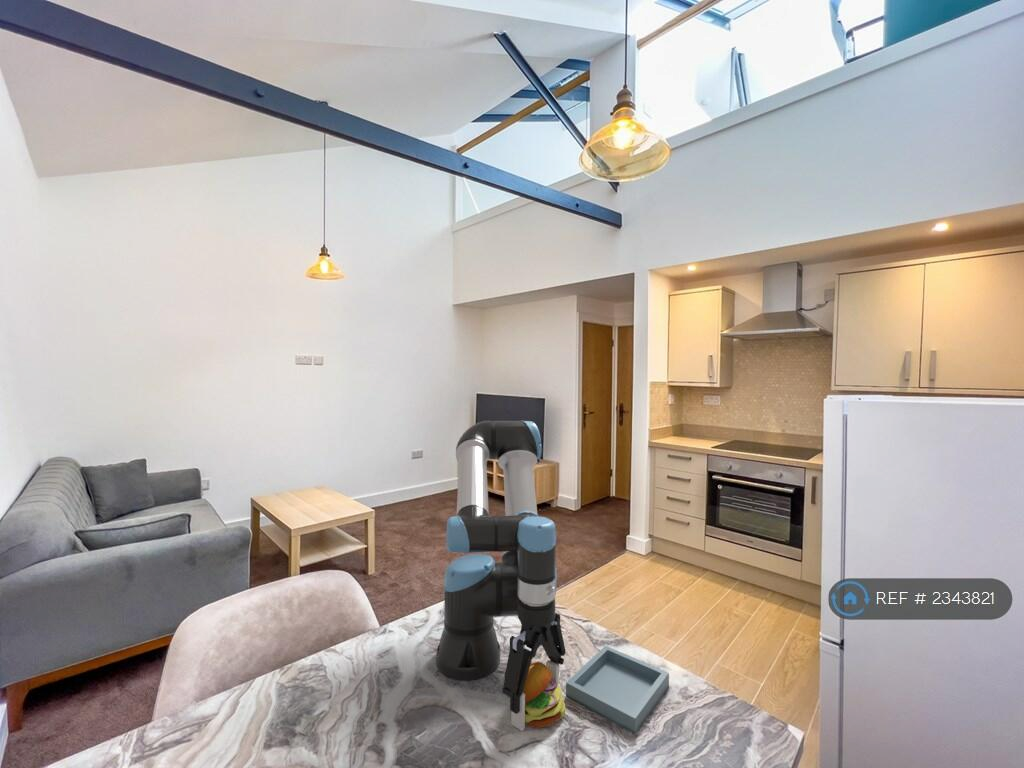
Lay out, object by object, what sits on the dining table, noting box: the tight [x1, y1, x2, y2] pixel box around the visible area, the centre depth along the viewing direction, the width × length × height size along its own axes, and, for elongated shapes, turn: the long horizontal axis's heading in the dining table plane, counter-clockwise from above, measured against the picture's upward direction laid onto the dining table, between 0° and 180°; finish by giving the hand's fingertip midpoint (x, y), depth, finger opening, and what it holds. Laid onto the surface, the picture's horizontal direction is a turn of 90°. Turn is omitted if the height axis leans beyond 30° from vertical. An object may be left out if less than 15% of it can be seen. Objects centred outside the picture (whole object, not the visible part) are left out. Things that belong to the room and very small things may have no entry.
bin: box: [565, 645, 670, 736], centre depth 92 cm, size 15×17×3 cm
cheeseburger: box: [508, 661, 566, 729], centre depth 86 cm, size 10×11×10 cm
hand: (535, 709), depth 87 cm, fingers closed on cheeseburger, 10 cm apart
